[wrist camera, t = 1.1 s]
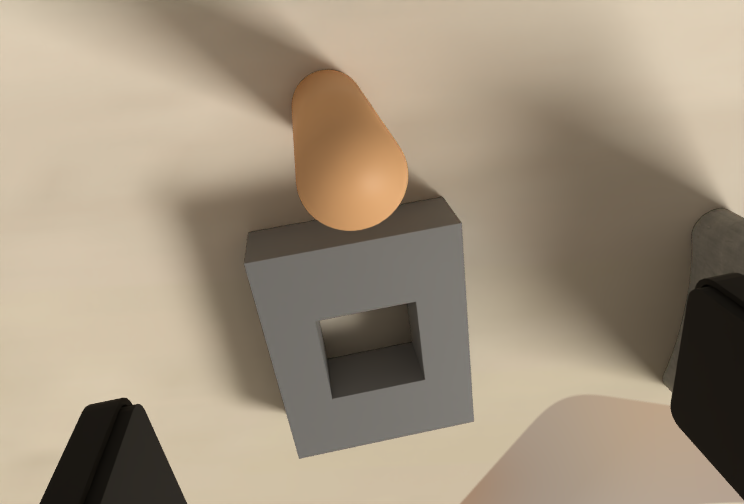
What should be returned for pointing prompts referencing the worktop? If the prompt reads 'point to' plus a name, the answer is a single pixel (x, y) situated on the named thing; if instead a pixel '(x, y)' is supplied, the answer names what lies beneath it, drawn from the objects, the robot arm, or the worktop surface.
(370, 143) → the long pin
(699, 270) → the hip flask
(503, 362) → the worktop surface
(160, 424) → the worktop surface
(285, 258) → the hole block
